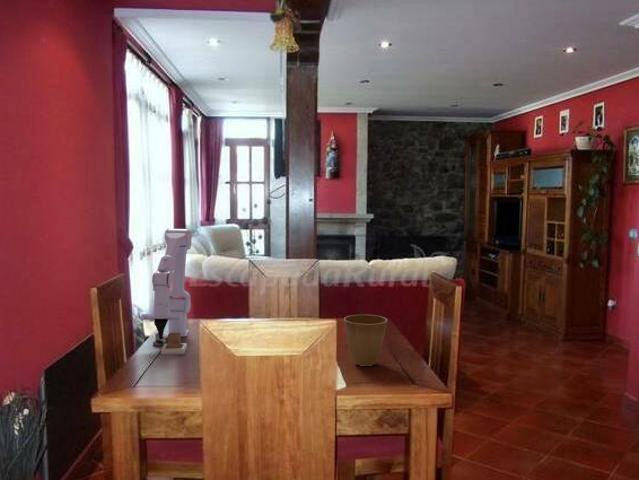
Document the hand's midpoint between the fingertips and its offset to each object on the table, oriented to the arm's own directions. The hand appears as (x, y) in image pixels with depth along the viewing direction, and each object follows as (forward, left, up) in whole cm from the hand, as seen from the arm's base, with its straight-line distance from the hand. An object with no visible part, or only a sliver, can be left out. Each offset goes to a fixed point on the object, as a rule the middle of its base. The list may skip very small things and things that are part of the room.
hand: (161, 338), depth 198 cm
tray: (+6, +6, -3) cm, 9 cm away
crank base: (-5, +1, -3) cm, 6 cm away
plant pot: (+24, +73, -4) cm, 77 cm away
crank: (-2, 0, -2) cm, 3 cm away
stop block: (+6, +6, -3) cm, 8 cm away
